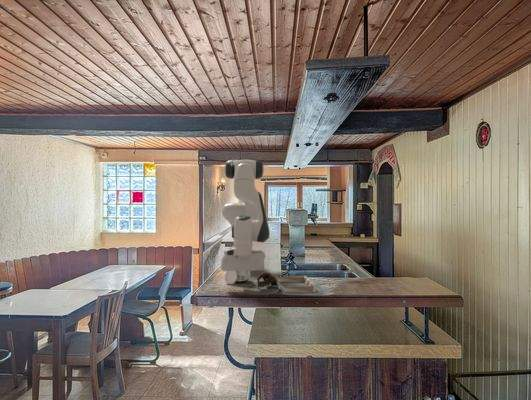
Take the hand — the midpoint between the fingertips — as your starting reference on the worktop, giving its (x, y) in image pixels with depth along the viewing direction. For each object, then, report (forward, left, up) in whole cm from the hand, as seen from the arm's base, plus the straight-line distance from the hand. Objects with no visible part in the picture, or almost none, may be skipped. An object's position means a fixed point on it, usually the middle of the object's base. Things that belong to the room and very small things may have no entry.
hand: (242, 280), depth 163 cm
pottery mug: (+1, +12, -4) cm, 12 cm away
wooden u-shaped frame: (-1, +25, -4) cm, 25 cm away
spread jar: (-11, -2, -4) cm, 12 cm away
